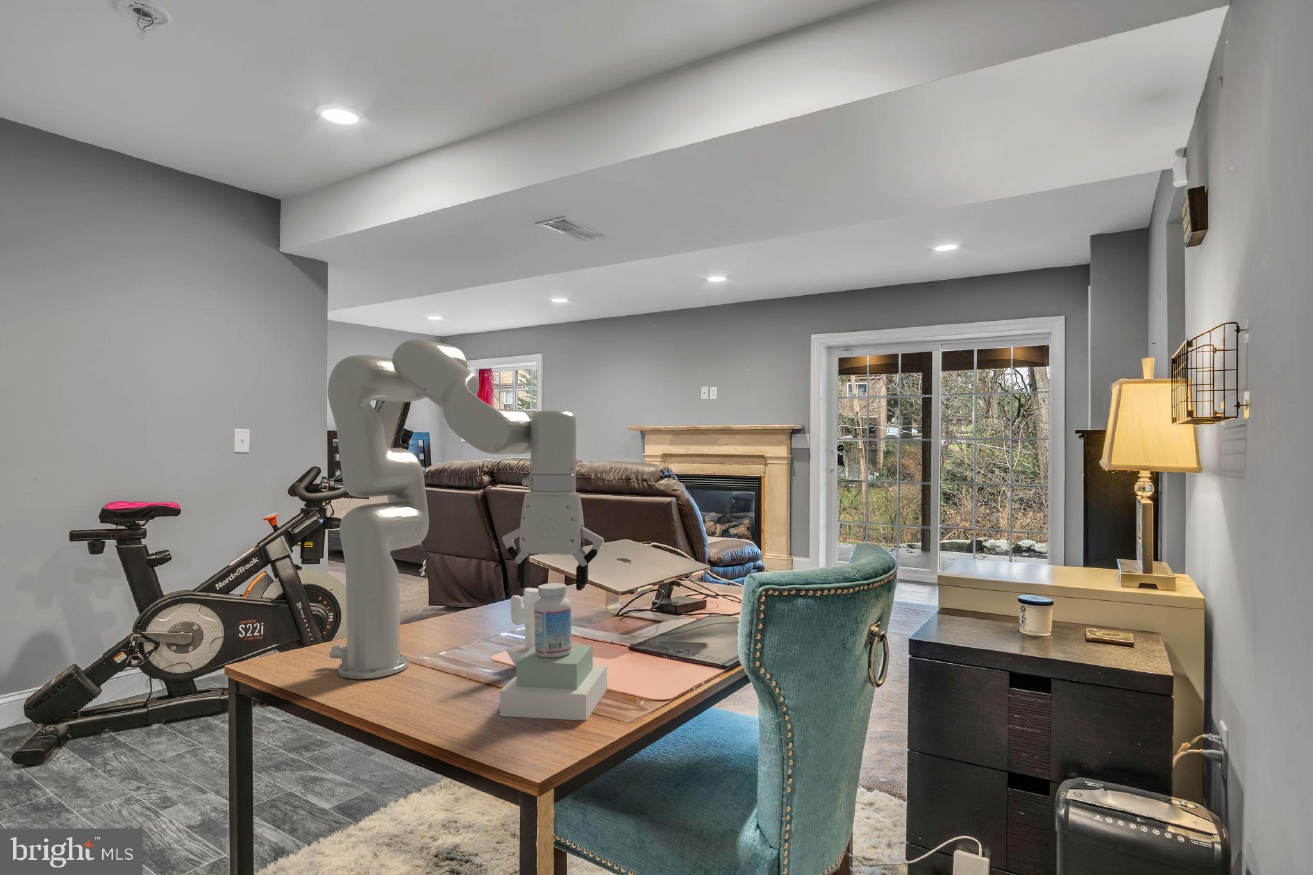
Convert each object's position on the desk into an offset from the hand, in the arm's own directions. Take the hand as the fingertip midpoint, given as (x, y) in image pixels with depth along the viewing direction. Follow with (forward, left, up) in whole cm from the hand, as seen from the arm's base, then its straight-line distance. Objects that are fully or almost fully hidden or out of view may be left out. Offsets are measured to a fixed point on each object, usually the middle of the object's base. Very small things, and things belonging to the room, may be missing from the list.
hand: (552, 587), depth 117 cm
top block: (0, 0, -15) cm, 15 cm away
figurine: (-10, +17, -19) cm, 27 cm away
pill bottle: (0, 0, -11) cm, 11 cm away
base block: (0, 0, -19) cm, 19 cm away
